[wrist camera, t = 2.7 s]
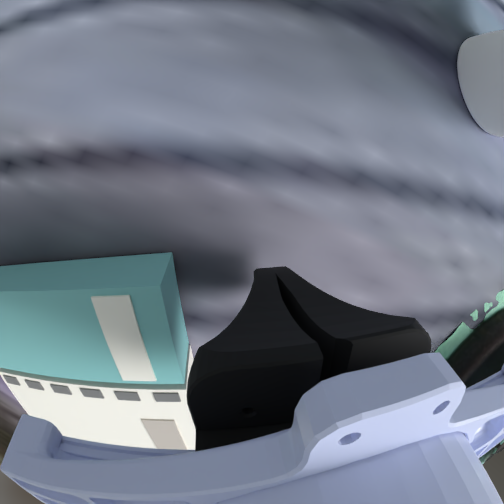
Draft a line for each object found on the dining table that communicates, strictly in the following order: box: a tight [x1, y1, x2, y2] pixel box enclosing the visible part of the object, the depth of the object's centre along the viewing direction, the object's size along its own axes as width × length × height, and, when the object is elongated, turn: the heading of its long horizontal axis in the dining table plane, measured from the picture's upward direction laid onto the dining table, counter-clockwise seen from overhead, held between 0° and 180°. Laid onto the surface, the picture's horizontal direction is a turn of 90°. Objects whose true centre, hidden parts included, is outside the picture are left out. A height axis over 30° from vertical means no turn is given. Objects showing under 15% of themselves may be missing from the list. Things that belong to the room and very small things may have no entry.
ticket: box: [0, 344, 196, 450], centre depth 15 cm, size 12×12×3 cm
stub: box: [0, 252, 189, 384], centre depth 12 cm, size 5×12×3 cm, turn 92°
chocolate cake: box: [434, 290, 504, 464], centre depth 17 cm, size 20×20×9 cm
